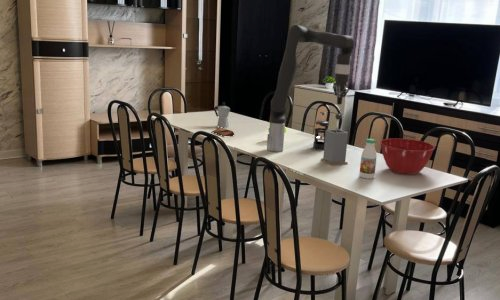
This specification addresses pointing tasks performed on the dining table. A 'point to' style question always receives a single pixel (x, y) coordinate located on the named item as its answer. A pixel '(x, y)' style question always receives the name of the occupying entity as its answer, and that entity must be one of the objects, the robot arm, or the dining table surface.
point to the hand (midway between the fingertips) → (339, 104)
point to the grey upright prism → (335, 147)
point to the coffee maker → (222, 115)
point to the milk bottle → (368, 160)
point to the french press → (317, 143)
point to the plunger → (337, 121)
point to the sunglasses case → (223, 132)
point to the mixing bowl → (406, 155)
